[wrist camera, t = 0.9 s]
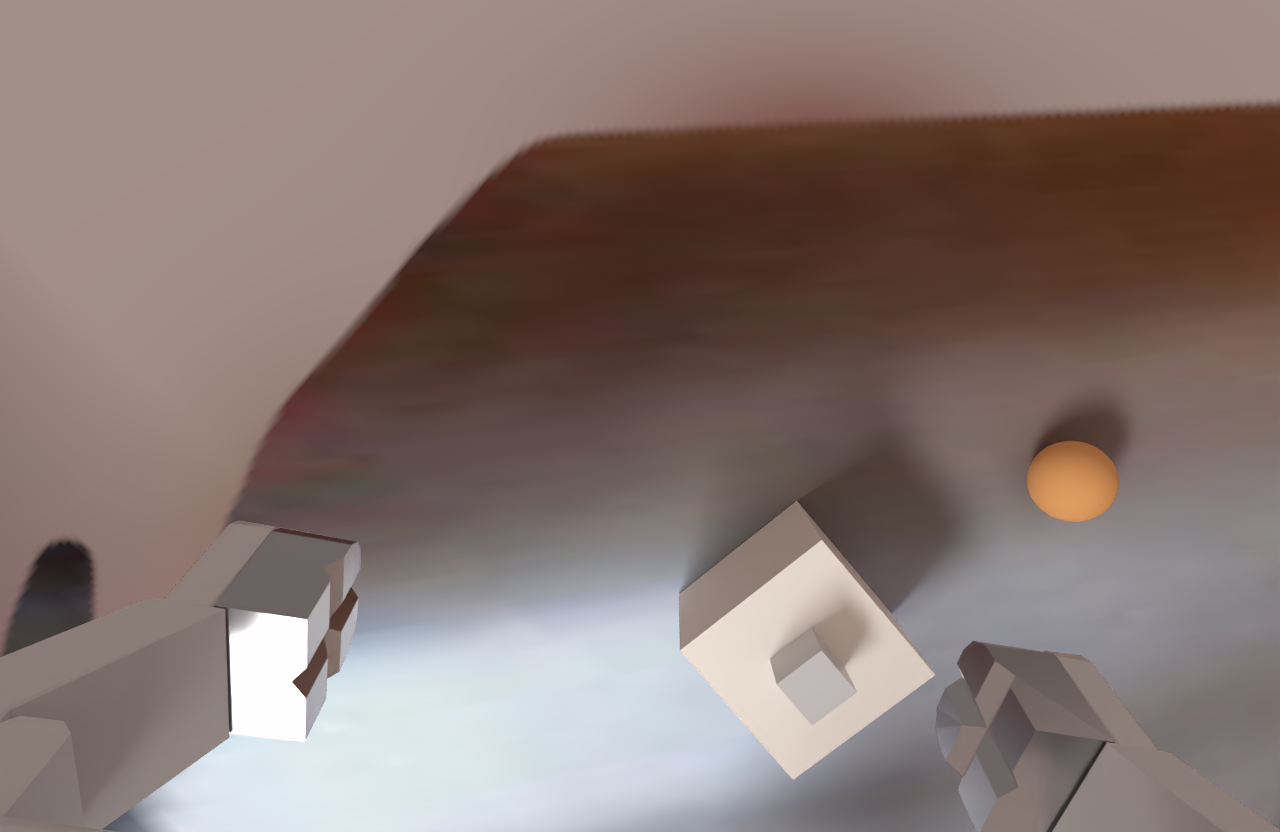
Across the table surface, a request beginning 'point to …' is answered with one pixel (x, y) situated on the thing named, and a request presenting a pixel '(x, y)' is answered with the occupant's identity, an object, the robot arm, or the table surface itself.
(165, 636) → the robot arm
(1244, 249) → the table surface
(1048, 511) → the ball
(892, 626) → the white box
